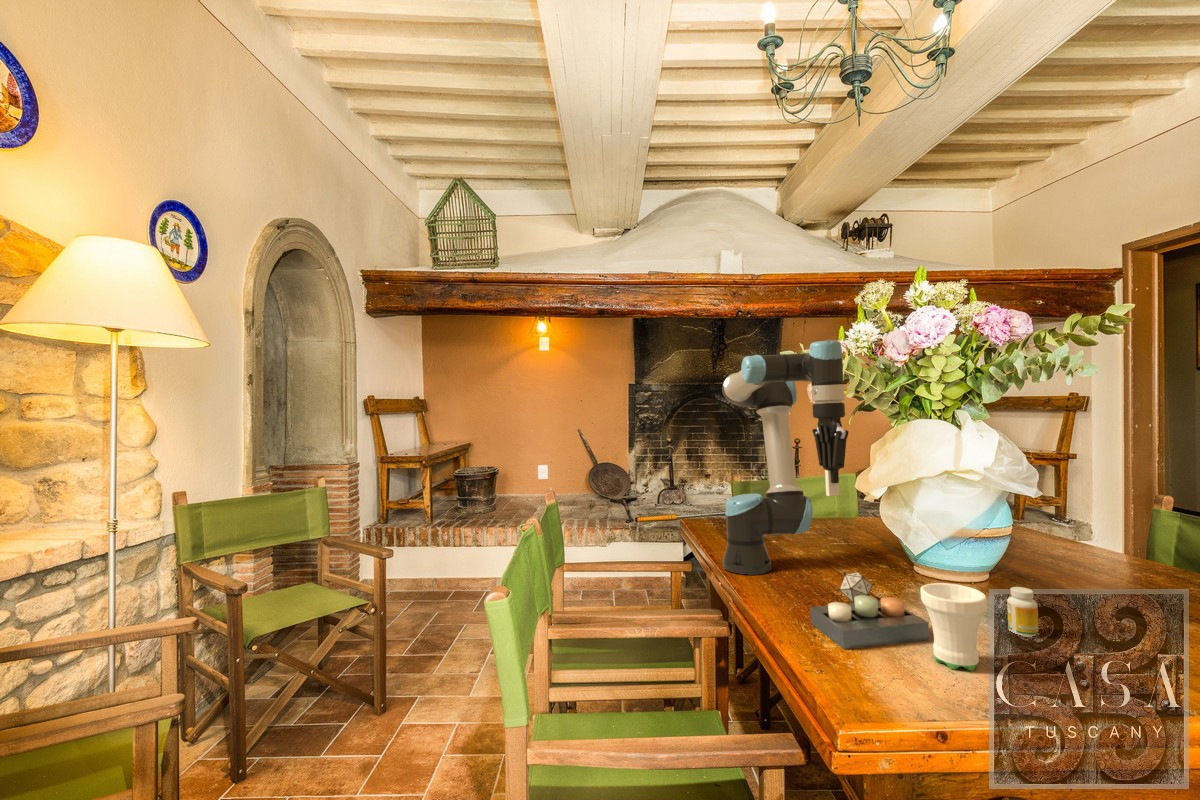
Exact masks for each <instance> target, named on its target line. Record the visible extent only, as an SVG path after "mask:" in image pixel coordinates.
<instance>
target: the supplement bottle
mask: <svg viewBox="0 0 1200 800" xmlns="http://www.w3.org/2000/svg"><path fill="white" fill-rule="evenodd" d="M1010 595H1011V596H1009V597H1008V598H1007V601H1006V603H1007V605H1006V606H1007V608H1006V609H1007V627H1008V631H1009V632H1010V631H1011V632H1013V633H1015V634H1018V635H1017V636H1019V635H1021V636H1020V637H1025V638H1033V637H1032V636H1035V635H1036V634H1038V632H1039V630H1040V629H1039V628H1040V627H1039V610H1038V609H1039V608H1038V602H1037V601H1036V600H1034V599H1033V598H1034V590H1032V589H1030V588H1028V587H1021V586H1013V587H1010ZM1011 632H1010V633H1011ZM1013 633H1012V634H1013ZM1015 634H1014V635H1015ZM1038 635H1039V634H1038Z"/></svg>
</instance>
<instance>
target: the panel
mask: <svg viewBox="0 0 1200 800" xmlns="http://www.w3.org/2000/svg"><path fill="white" fill-rule="evenodd" d="M847 604H848V605H850V606H851V616H852V621H848V622H838V623H835V622H833V621H832V620H831V619H829V612H828V604H827V605H818V606H810V609H809V611H810V624H811V625H812V626H814V628H816V629H817V630H819V632H821V633H822V634H824V635H825V636H826V637H828V638H829V639H830V640H831V641H832V642H834V643H835V644H837V646H839V647H840V648H841V649H843V650H850V649H852V650H853V649H859V648H861V649H862V648H869V647H870V648H871V647H872V648H873V647H879V646H880V647H881V646H889V645H898V644H907V643H917V642H927V641H930V627H929V622H928V621H927V620H926V619H924V618H921V617H919V616H918V615H916V614H914V613H913V612H911V611H908V610H907V609H905V608H904V610H905V616H899V617H888V616H886V615H884V614H883V613H881V599H880V600H878V616H876V617H864V616H860V615H858V614H856V613H855V603H853V602H849V603H847Z"/></svg>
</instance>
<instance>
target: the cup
mask: <svg viewBox="0 0 1200 800" xmlns="http://www.w3.org/2000/svg"><path fill="white" fill-rule="evenodd" d="M920 600H921V602H922V603H923V605H924V606H925V608H926V611H927V613H928V616H929V619H930V623H931V626H932V627H931V628H932V631H933V639H934V640H933V645H932V651H933V652H932V653H933V658H934V660H935V662H937V663H939V664H943V663H944V664H945V665H947V668H949V669H951V670H958V669H959V668H961V667H963V668H964V669H966V671H967V670H968V671H970V672H971V671H975V668H976V667H977V665H978V664H979V663H980V661H979V660H980V659H979V650H978V649H977V648H978V647H977V645H978V644H977V643H978V641H977V640H978V630H979V627H980V625H981V624H980V623H981V621H982V618H983V615H984V614H985V613H986V612H987V610H988V609H987V606H988V605H987V596H986V594H984V593H983V592H982V591H980V590H978V589H976V588H974V587H970V586H967V585H961V584H957V583H946V582H935V583H934V582H933V583H927V584H924V585H922V586H921V587H920Z"/></svg>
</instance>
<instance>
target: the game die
mask: <svg viewBox="0 0 1200 800" xmlns="http://www.w3.org/2000/svg"><path fill="white" fill-rule="evenodd" d="M856 571H857V572H852V573H847V574H846V573H845V572H844V571H843V572H842V574H843V575H844V576H843V577H842V578H841V579H842V580H841V581H842V582H841V584H840V588H837V589H836V591H837V592H841V593H842V594H843V595H844V596H845V597H846V598H847V599H849V600H850V602H851V603H855V601H854V597H855V596H859V595H866V596H871V595H870V594H871V591H872V588H873V586H876V583H872V582H871V581H869V580H868V578H866V577H865V575H862V574H861V573H860V569H857V570H856Z"/></svg>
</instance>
